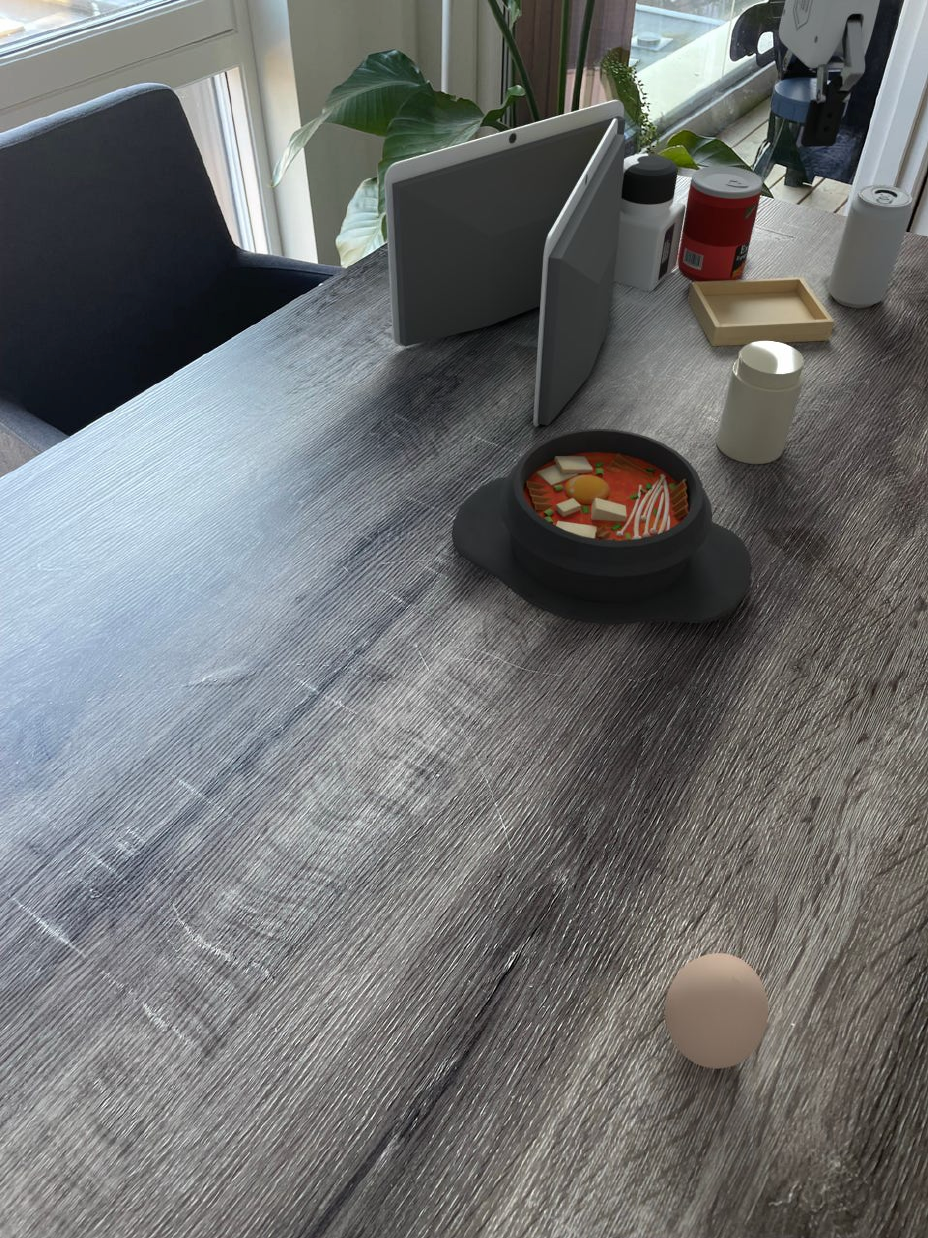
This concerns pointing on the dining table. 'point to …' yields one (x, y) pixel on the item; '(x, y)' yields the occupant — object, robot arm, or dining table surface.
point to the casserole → (605, 533)
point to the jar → (760, 402)
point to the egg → (716, 1010)
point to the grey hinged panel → (513, 240)
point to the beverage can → (870, 245)
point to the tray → (759, 311)
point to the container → (648, 222)
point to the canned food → (718, 223)
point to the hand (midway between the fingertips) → (803, 128)
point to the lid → (794, 98)
